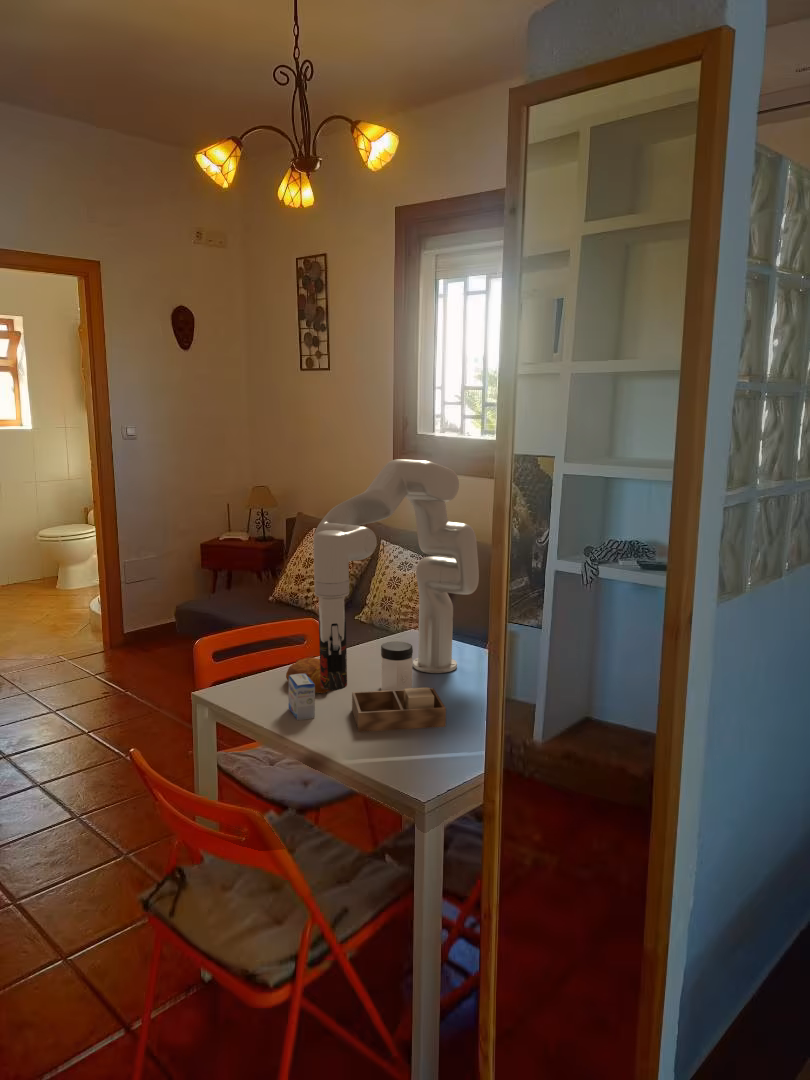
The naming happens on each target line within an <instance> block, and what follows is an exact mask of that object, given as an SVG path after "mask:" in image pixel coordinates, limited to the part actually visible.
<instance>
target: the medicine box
mask: <svg viewBox="0 0 810 1080" xmlns="http://www.w3.org/2000/svg"><path fill="white" fill-rule="evenodd" d="M315 701H316V693H315V684H314V683H313V682H312V681H311V680H310V678H309V677H308V676H307V675H306V674H294V675H289V681H288V709H289V711H290V712H291V713H292V715H293V716H294V718H295V719H296V720H297V721H302V720H303V721H304V720H310V719H314V718H315V717H316V716H315V715H316V714H315V713H316V712H315V711H316V702H315Z"/></svg>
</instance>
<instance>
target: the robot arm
mask: <svg viewBox="0 0 810 1080" xmlns="http://www.w3.org/2000/svg"><path fill="white" fill-rule="evenodd" d="M459 488H460V482H459V477H458V475H457V473H456V472H455V471H454V469H452V468H449V467H447V466H444V465H442V464H439V463H436V462H433V461H429V460H423V459H422V460H420V459H405V458H404V459H402V458H401V459H400V458H399V459H393V460H390V461H388V462H387V463H386V464H385V465H384V466H383V467H382V469H381V470H380V471H379V472H378V474H377V475H376V476H375V477H374V479H373V480H372V482H371V483H370V485H369V486H368V487H367V488H366V490H365V491H363V492H362V493H359V494H356V495H354V496H353V497H351V498H348V499H347V500H344V501H342V502H341V503H339V504H337V505H335V506H333V508H331V509H330V510H329V511H328V512H327V513H326V515H324V517H323V518H322V519H321V521H320V522H319V524H318V525H317V527H316V529H315V532H314V533H313V539H312V540H313V543H312V545H313V573H314V574H313V578H314V596H315V597H317V598H318V622H319V621H320V638H321V641H322V642H323V643H325V641H328V654H327V670H328V672H341V671H342V653H341V642H342V641H343V640H344V618H345V597H348V596H349V595H350V567H349V566H350V564H349V563H350V562H352V561H360V560H365V559H368V558H369V557H370V556H371V555H373V554H374V552H375V551H376V548H377V543H378V542H377V537H376V534H375V532H374V531H373V530H372V529H370V528H369V527H366V526H363V525H367V524H372V523H373V524H374V523H377V522H380V521H383V520H386V519H389V518H390V517H391V516H392V515H394V513H395V511H396V510H397V509H398V507H399V506H400V505H401V503H402V502H403V500H404V499H405V498H406V500H408V501H409V502H410V504H411V505H412V507H413V511H414V516H415V524H416V532H417V534H416V535H417V542H418V546H419V548H420V550H421V552H423V553H424V554H426V555H429V556H426V557H423V558H422V559H420V560H419V562H418V563H417V565H416V570H415V576H416V583H417V588H418V589H417V590H418V601H419V602H418V603H419V604H418V641H417V642H418V646H417V647H418V650H417V658H415V659H412V668H413V669H415V670H416V671H419V672H422V673H427V674H445V673H449V672H453V671H454V670H456V669H457V667H458V662H457V660H455V659H453V629H454V628H453V625H454V624H453V623H454V622H453V621H454V620H453V619H454V605H453V602H452V599H451V597H450V596H449V594H455V595H467V596H468V595H471V594H473V593H474V592H476V590H477V588H478V586H479V583H480V582H479V580H480V579H479V578H480V575H479V574H480V570H479V558H478V557H479V556H478V544H477V543H478V542H477V535H476V532H475V531H474V529H473V527H472V526H471V525H469V524H467V523H464V522H458V521H457V522H456V521H454V522H453V521H450V520H449V519H448V518H449V517H448V513H447V512H448V511H447V505H446V503H448V502H451V501H453V500H454V499H455V498H456V496H457V495H458V492H459ZM331 629H332V631H331ZM340 636H341V637H340ZM338 637H339V639H338ZM330 638H332V640H330ZM331 643H333V646H331Z"/></svg>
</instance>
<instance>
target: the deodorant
mask: <svg viewBox="0 0 810 1080" xmlns="http://www.w3.org/2000/svg"><path fill="white" fill-rule="evenodd" d="M331 631H332V629H331ZM318 634H319V637H318V639H319V640H318V641H319V645H318V646H319V659H320V685H321V687H322V688H323V689H326V690H332V691H338V690H342V689H345V688H346V687H347V686H348V665H347V663H348V662H347V661H348V657H347V656H348V655H347V654H348V653H347V651H348V650H347V620H346V618H345V617H344V640H343V641H342V642H341V653H342V671H341V672H328V670H327V654H328V641H325V643H323V642H322V641H321V638H320V621H319V620H318ZM340 637H341V636H340ZM338 639H339V637H338ZM330 640H332V638H330ZM331 646H333V643H331Z"/></svg>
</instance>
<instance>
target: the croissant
mask: <svg viewBox="0 0 810 1080" xmlns="http://www.w3.org/2000/svg"><path fill="white" fill-rule="evenodd" d="M294 674H306V675H307V676H308V677H309V678H310V680H311V681H312V682H313V683H314V684H315V694H327V693H328V692H331V691H333V690H326V689H323V688H322V687H321V685H320V658H316V657H307V658H303V659H299V660H297V661H296V662H294V663H292V664H291V665H290V666H288V668H287V671H286V675H285V677H286V680H287V681H288V682H289V675H294Z"/></svg>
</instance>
